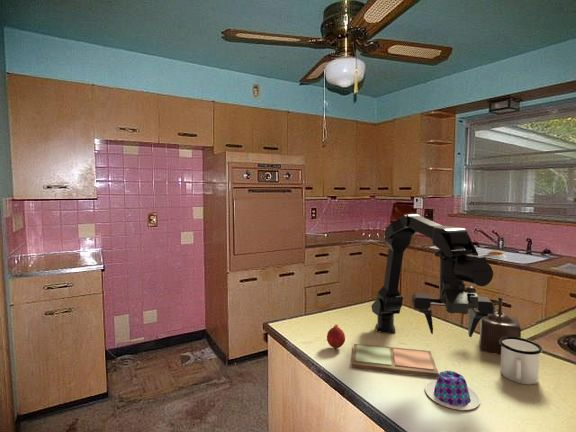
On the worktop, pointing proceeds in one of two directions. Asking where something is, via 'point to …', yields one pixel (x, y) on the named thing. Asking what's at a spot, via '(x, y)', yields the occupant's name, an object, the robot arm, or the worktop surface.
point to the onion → (335, 337)
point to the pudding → (452, 391)
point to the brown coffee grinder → (496, 327)
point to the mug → (520, 359)
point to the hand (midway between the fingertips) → (450, 334)
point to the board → (394, 360)
